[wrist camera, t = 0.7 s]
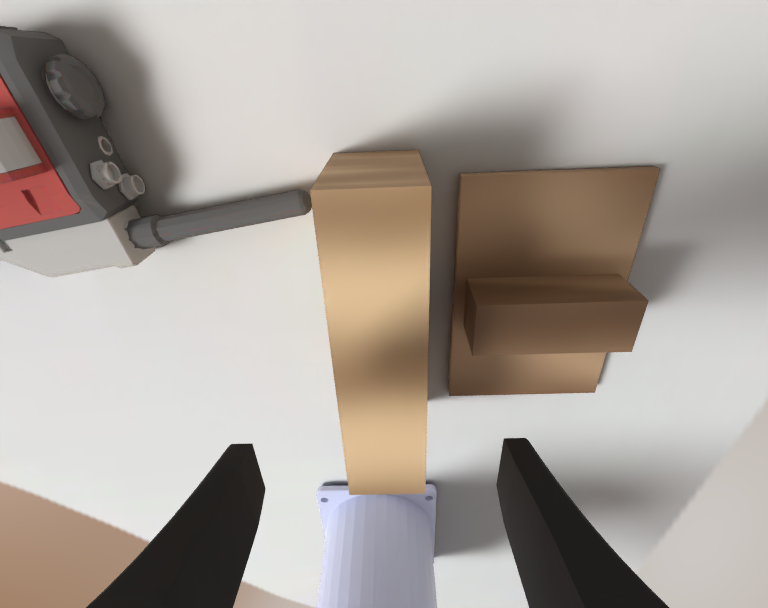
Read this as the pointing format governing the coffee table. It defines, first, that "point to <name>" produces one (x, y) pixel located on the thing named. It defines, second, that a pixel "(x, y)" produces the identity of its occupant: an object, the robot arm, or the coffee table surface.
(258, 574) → the coffee table surface
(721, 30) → the coffee table surface
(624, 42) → the coffee table surface
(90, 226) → the walkie-talkie
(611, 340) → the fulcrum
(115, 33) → the coffee table surface
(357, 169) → the oak bar
